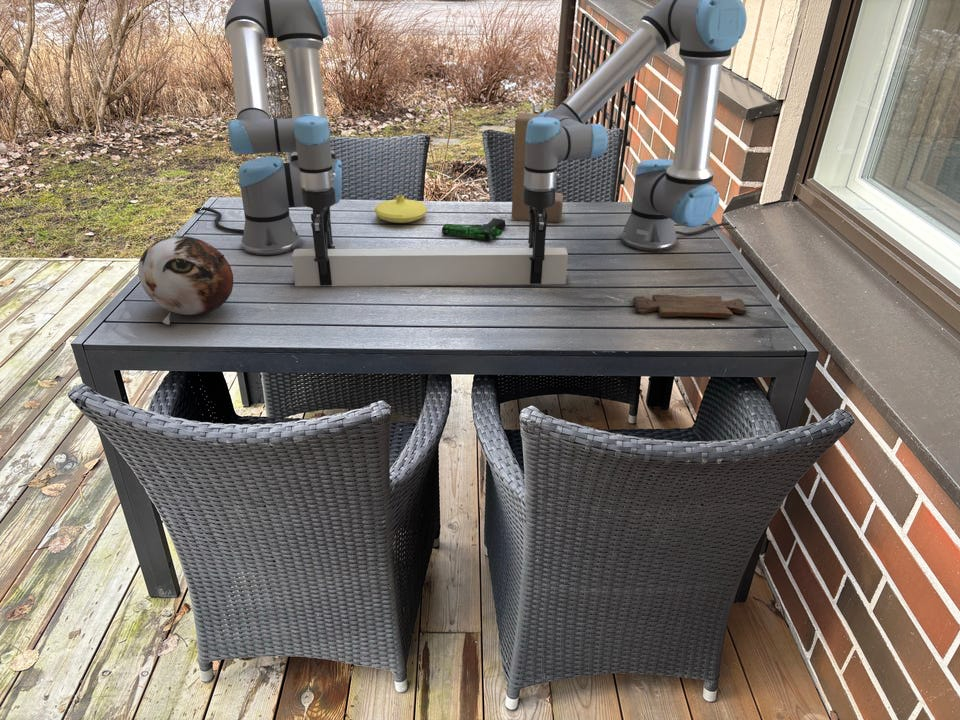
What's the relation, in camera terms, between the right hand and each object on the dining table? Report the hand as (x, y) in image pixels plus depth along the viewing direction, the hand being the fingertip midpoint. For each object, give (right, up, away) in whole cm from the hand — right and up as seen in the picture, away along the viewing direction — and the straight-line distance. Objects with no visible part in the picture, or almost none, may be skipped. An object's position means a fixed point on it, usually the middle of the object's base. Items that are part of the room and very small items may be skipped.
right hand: (534, 278), depth 179 cm
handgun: (-15, +17, +29) cm, 36 cm away
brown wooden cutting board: (+35, -9, -12) cm, 38 cm away
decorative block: (+4, +23, +40) cm, 46 cm away
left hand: (-51, -1, -3) cm, 51 cm away
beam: (-26, -1, -1) cm, 26 cm away
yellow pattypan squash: (-38, +22, +37) cm, 57 cm away
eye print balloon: (-79, -9, -17) cm, 81 cm away
